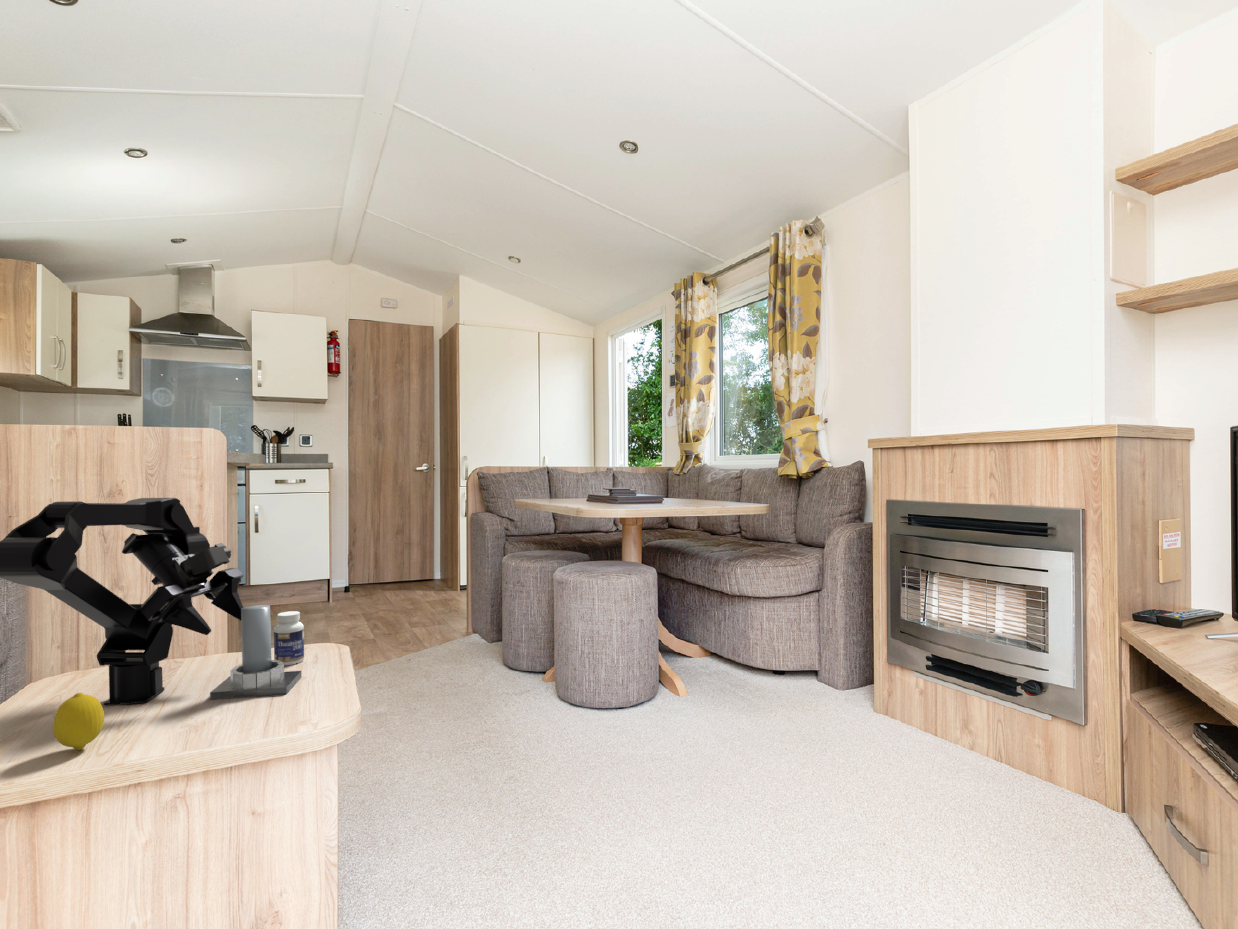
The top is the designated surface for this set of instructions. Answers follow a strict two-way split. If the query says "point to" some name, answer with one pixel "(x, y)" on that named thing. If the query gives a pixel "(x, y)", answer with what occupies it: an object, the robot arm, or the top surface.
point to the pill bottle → (289, 638)
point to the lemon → (78, 721)
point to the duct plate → (256, 682)
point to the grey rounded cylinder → (256, 638)
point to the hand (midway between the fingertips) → (227, 625)
